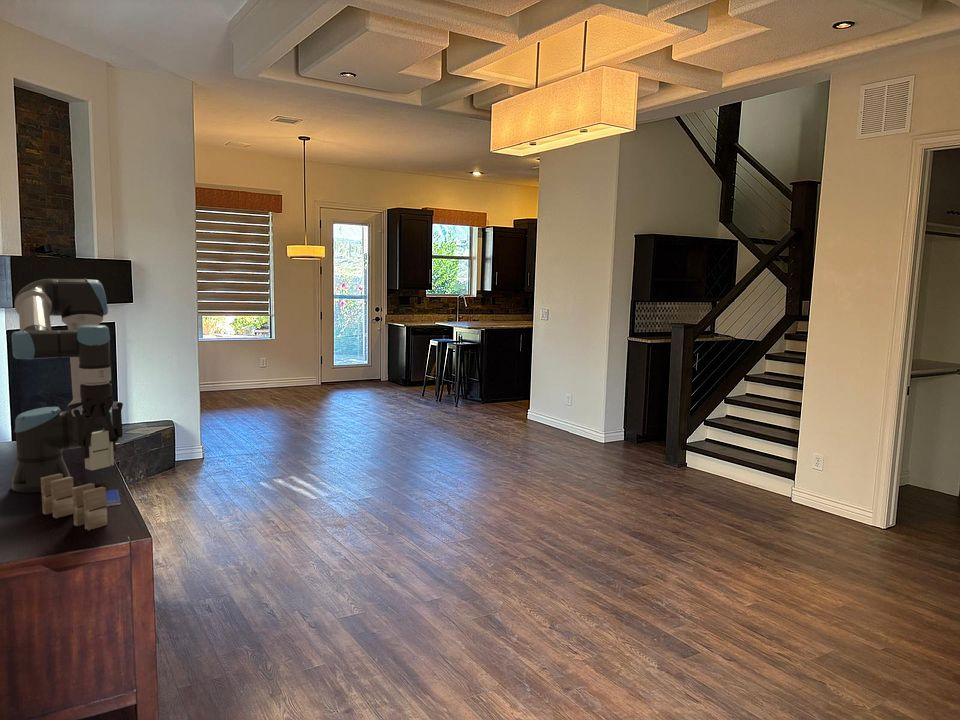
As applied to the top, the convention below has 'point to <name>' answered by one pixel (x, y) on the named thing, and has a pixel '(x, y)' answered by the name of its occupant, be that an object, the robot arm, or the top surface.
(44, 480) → the domino
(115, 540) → the top surface
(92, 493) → the domino
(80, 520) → the domino
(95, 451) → the domino
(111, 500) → the hard drive
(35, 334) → the robot arm
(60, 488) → the domino
